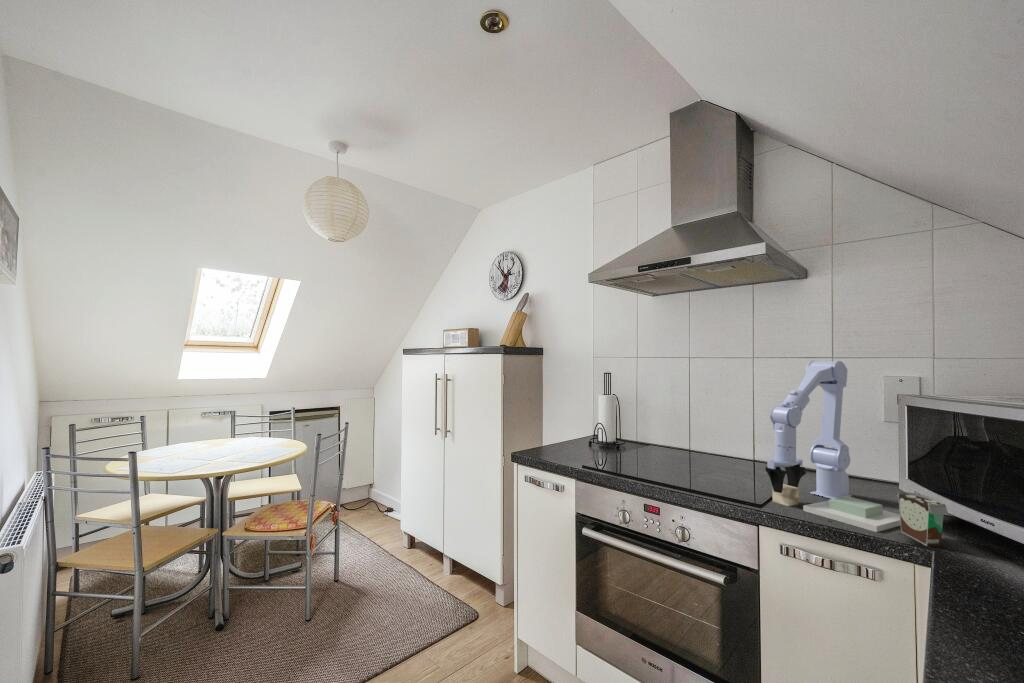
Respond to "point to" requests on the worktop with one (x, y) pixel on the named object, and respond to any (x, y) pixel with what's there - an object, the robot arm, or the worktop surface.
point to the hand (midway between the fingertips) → (785, 490)
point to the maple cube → (786, 496)
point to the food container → (921, 517)
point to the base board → (855, 520)
